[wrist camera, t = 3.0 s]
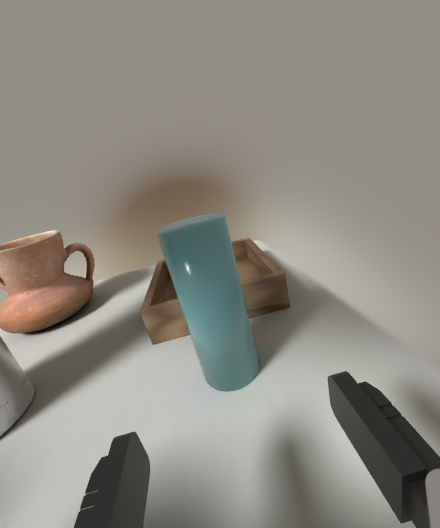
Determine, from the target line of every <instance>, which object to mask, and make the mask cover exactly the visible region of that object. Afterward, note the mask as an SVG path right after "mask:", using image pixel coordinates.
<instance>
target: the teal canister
mask: <svg viewBox="0 0 440 528" xmlns="http://www.w3.org/2000/svg"><path fill="white" fill-rule="evenodd" d="M156 234H157V237H158V240H159V243H160V246H161V249H162V252H163V255H164V258H165V261H166V264H167V267H168V270H169V273H170V276H171V278H172V281H173V284H174V287H175V290H176V293H177V296H178V299H179V302H180V305H181V308H182V311H183V314H184V317H185V320H186V323H187V326H188V329H189V332H190V335H191V338H192V341H193V343H194V346H195V349H196V352H197V355H198V358H199V361H200V364H201V367H202V370H203V373H204V376H205V379H206V381H207V383H208V384H209V385H210V386H211V387H212V388H214V389H216V390H220V391H234V390H238V389H241V388H243V387H245V386H246V385H248V384H249V383H251V382H252V381H253V380H254V378H255V377H256V375H257V373H258V371H259V360H258V356H257V352H256V347H255V343H254V339H253V334H252V330H251V326H250V321H249V317H248V313H247V308H246V304H245V300H244V295H243V291H242V287H241V282H240V278H239V274H238V269H237V265H236V261H235V256H234V252H233V248H232V243H231V239H230V235H229V230H228V226H227V222H226V218H225V214H223V213H211V214H205V215H199V216H195V217H191V218H187V219H184V220H181V221H177V222H175V223H172V224H169V225H167V226H165V227H163V228H161V229H159V230H158V231H157V232H156Z"/></svg>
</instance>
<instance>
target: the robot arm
mask: <svg viewBox="0 0 440 528" xmlns="http://www.w3.org/2000/svg"><path fill="white" fill-rule="evenodd" d="M328 387H329V395H330V403H331V407H332V410H333V412H334V415H335V417H336V418H337V420H338V422H339V424H340V425H341V427H342V428H343V430H344V432H345V433H346V435H347V437H348V438H349V440H350V441H351V443H352V445H353V446H354V448H355V450H356V451H357V453H358V454H359V456H360V458H361V459H362V461H363V463H364V464H365V466H366V467H367V469H368V471H369V472H370V474H371V476H372V477H373V479H374V480H375V482H376V484H377V485H378V487H379V489H380V490H381V492H382V494H383V495H384V497H385V498H386V500H387V502H388V503H389V505H390V507H391V508H392V510H393V511H394V513H395V515H396V516H397V518H398V520H399V521H400V523H404V522H408V521H411V520H412V522H413V523H414V525H415V527H416V528H440V457H439V456H438V455H437V453H436V452H435V451H434V450H433V449H432V448H431V447H430V446H429V445H428V443H427V442H426V441H425V440H424V439H423V438H422V437H421V436H420V435H419V433H418V432H417V431H416V430H415V429H414V428H413V427H412V426H411V425H410V423H409V422H408V421H407V420H406V419H405V418H404V417H402V415H401V413H400V412H399V411H398V410H397V409H396V408H395V407H394V406H392V404H391V402H390V401H389V400H388V399H387V398H386V397H385V396H384V395H383V393H382V392H381V391H380V390H378V389H377V388H375V387H373V386H372V385H370V384H369V383H367V382H362V383H359V384H358V383H357V382H356V381H355V380H354V379H353V377H352V376H351V375H350V374H349V373H348V372H346V371H345V372H341V373H338V374H334V375H331V376H328ZM33 396H34V387H33V385H32V384H31V382H30V381H29V379H28V378H27V376H26V374H25V373H24V371H23V370H22V368H21V367H20V365H19V364H18V362H17V361H16V359H15V358H14V356H13V355H12V353H11V352H10V350H9V349H8V347H7V346H6V344H5V343H4V341H3V340H2V338H1V337H0V436H1V435H2V434H3V433H4V432H6V431H7V430H8V429H9V428H10V427H11V426H12V425H13V424H14V423H15V422H16V421H17V420H18V419H19V418H20V417H21V415H22V414H23V413H24V411H25V410H26V409H27V408H28V406H29V404H30V403H31V401H32V399H33ZM149 476H150V462H149V457H148V455H147V453H146V451H145V449H144V447H143V445H142V443H141V441H140V439H139V437H138V435H137V434H136V432H131V433H128V434H124V435H121V436H117V437H115V438H114V439H113V441H112V444H111V447H110V451H109V454H108V456H105V457H102V458H101V459H100V461H99V463H98V464H97V466H96V467H95V469H94V471H93V472H92V474H91V477H90V480H89V483H88V486H87V489H86V492H85V493H86V494H85V496H84V498H83V501H82V504H81V507H80V512H79V513H78V516H77V519H76V522H75V525H74V528H143V522H144V514H145V507H146V499H147V491H148V484H149Z"/></svg>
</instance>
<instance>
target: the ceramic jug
mask: <svg viewBox="0 0 440 528" xmlns="http://www.w3.org/2000/svg"><path fill="white" fill-rule="evenodd" d="M75 251H81V252H82V253H83V254H84V256H85V258H86V261H87V274H86V278H82V277H78V276H73V275H70V274H67V273H65V272H64V262H65V261H66V260H67V258H68V257H69V255H70V254H71V253H73V252H75ZM94 265H95V264H94V257H93V254H92V252H91V250H90V249H89V248H88V247H87V246H86V245H84V244H80V243H75V244H71V245H69V246H68V247H66V248H65V249H64V247H63V241H62V236H61V234H60V232H59V230H56V231H48V232H44V233H40V234H36V235H31V236H27V237H25V238H20V239H16V240H14V241H10V242H6V243H4V244H0V287H1V288H2V289H4V290H6V291H7V292H8V293H9V295H8V296H7V298H6V300H5V301H4V302H3V304H2V305H1V306H0V328H1V329H2V330H4V331H6V332H9V333H28V332H33V331H38V330H41V329H44V328H47V327H50V326H52V325H55V324H57V323H59V322H61V321H63V320H65V319H67V318H68V317H70V316H72V315H73V314H75V313H76V312H77V311H79V310H80V309H81V308H82V307H83V306H84V305H85V304H86V303H87V302H88V301H89V299H90V298H91V296H92V293H93V279H92V276H93V271H94Z"/></svg>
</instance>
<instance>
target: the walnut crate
mask: <svg viewBox="0 0 440 528" xmlns="http://www.w3.org/2000/svg"><path fill="white" fill-rule="evenodd" d="M231 243H232V248H233V252H234V256H235V261H236V265H237V269H238V274H239V278H240V282H241V287H242V291H243V295H244V300H245V304H246V308H247V313H248V317H249V318H251V317H254V316H258V315H262V314H265V313H269V312H272V311H276V310H280V309H283V308H287V307H290V305H289V298H288V292H287V286H286V279H285V273H284V272H283V271H282V270H281V269H280V268H279V267H278V266H277V265H276V264H275V263H274V262H273V261H272V260H271V259H270V258H269V257H268V256H267V255H266V254H265V253H264V252H263V251H262V250H261V249H260V248H259V247H258V246H257V245H256V244H255V243H254V242H253V241H252V240H251V239H250V238H245V239H241V240H237V241H233V242H231ZM140 314H141V317H142V319H143V322H144V324H145V327H146V329H147V331H148V334H149V336H150V339H151V341H152V344H157V343H160V342H164V341H168V340H171V339H175V338H178V337H182V336H186V335H189V334H190V332H189V329H188V326H187V323H186V320H185V317H184V314H183V311H182V308H181V305H180V302H179V299H178V296H177V293H176V290H175V287H174V284H173V281H172V278H171V276H170V273H169V270H168V267H167V264H166V261H165V260H162V261H158V263H157V266H156V269H155V271H154V274H153V277H152V280H151V283H150V286H149V288H148V291H147V294H146V297H145V300H144V302H143V305H142V308H141V311H140Z"/></svg>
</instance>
